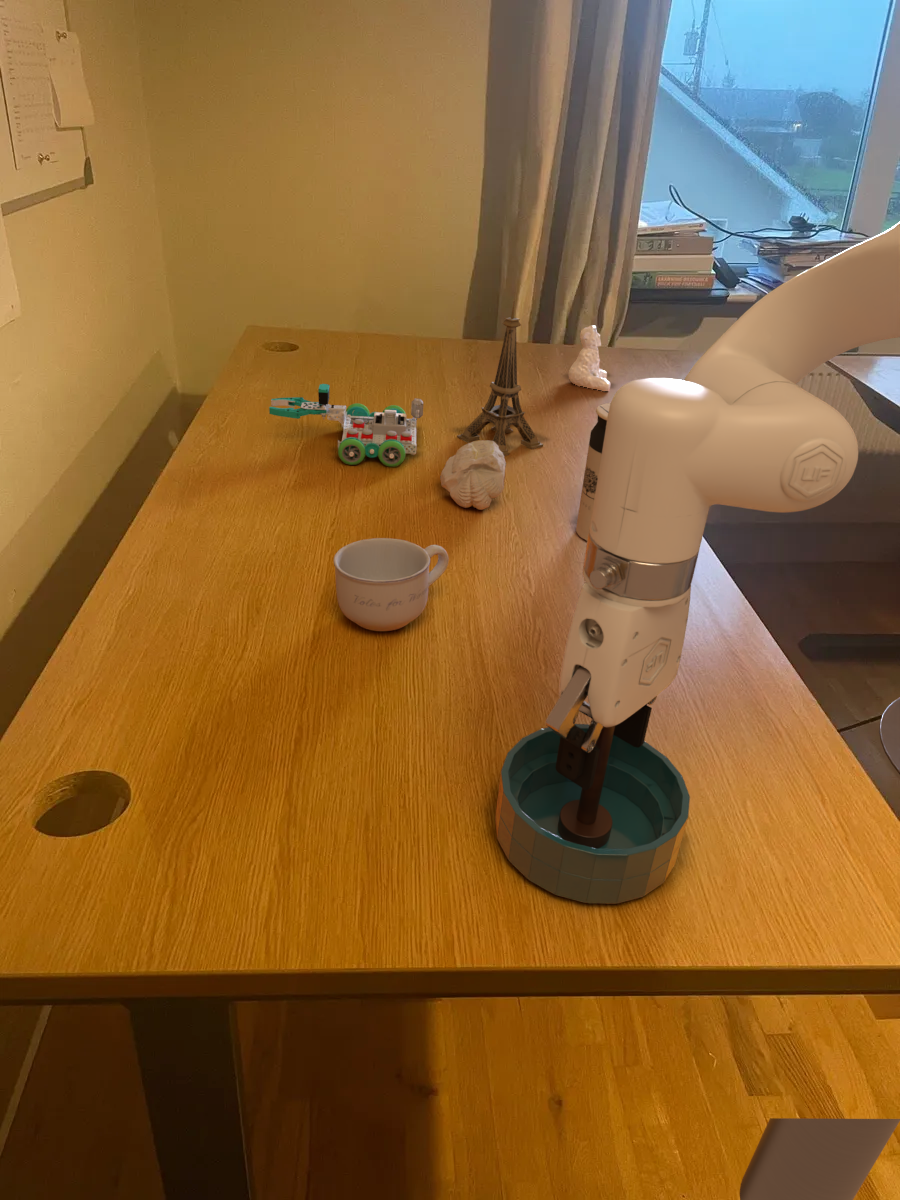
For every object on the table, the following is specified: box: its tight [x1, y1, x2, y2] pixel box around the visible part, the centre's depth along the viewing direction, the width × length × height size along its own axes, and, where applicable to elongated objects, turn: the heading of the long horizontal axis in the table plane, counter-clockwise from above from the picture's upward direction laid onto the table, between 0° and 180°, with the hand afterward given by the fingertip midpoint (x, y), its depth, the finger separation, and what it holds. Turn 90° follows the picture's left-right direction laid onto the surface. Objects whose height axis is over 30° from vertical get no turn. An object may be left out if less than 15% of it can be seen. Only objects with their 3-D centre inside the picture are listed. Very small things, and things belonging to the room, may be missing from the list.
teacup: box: [333, 537, 449, 632], centre depth 101 cm, size 14×11×8 cm
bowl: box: [494, 723, 691, 905], centre depth 74 cm, size 15×15×6 cm
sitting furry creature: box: [567, 324, 612, 392], centre depth 181 cm, size 10×9×12 cm
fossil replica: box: [439, 439, 507, 511], centre depth 130 cm, size 12×8×10 cm
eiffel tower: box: [456, 293, 544, 457], centre depth 147 cm, size 11×11×25 cm
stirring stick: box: [558, 726, 615, 849], centre depth 72 cm, size 4×4×14 cm
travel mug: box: [575, 402, 611, 542], centre depth 120 cm, size 8×8×18 cm
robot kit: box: [268, 383, 424, 468], centre depth 145 cm, size 19×25×9 cm
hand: (600, 756), depth 71 cm, fingers open, 6 cm apart
